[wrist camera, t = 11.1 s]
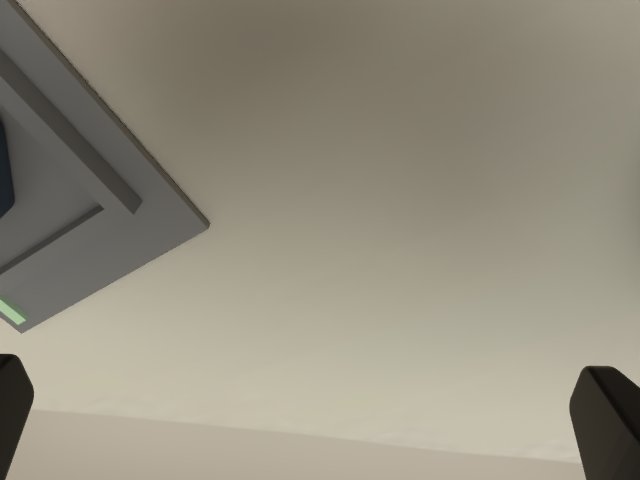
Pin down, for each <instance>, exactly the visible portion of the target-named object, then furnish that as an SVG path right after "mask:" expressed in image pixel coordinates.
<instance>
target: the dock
mask: <svg viewBox="0 0 640 480" xmlns="http://www.w3.org/2000/svg"><path fill="white" fill-rule="evenodd" d="M0 121H1V123H2V125H3V128H4V132H5V139H6V146H7V153H8V159H9V166H10V173H11V180H12V187H13V193H14V205H13V206H12V208H11V209H10V210H9V211H8V212H7V213H6V214H5V215H4V216H3V217H2V218H1V219H0V317H1V318H2V319H3V320H5V321H6V322H7V323H9V324H10V325H11V326H12V327H14V328H15V329H16V330H18V331H19V332H20V333H21V334H22V333H24V332H25V331H27V330H29V329H31V328H32V327H34V326H36V325H38V324H40V323H41V322H43V321H45V320H47V319H48V318H50V317H52V316H54V315H56V314H57V313H59V312H61V311H63V310H64V309H66V308H68V307H70V306H72V305H73V304H75V303H77V302H79V301H80V300H82V299H84V298H86V297H88V296H89V295H91V294H93V293H95V292H96V291H98V290H100V289H102V288H104V287H105V286H107V285H109V284H111V283H113V282H114V281H116V280H118V279H120V278H121V277H123V276H125V275H127V274H129V273H130V272H132V271H134V270H136V269H137V268H139V267H141V266H143V265H145V264H146V263H148V262H150V261H152V260H153V259H155V258H157V257H159V256H161V255H162V254H164V253H166V252H168V251H169V250H171V249H173V248H175V247H177V246H178V245H180V244H182V243H184V242H185V241H187V240H189V239H191V238H193V237H194V236H196V235H198V234H200V233H202V232H203V231H205V230H207V229H208V228H209V225H210V223H209V222H208V221H207V220H206V218H205V217H204V216H203V215H202V214H201V213H200V212H199V210H198V209H197V208H196V207H195V206H194V205H193V204H192V202H191V201H190V200H189V199H188V198H187V197H186V196H185V194H184V193H183V192H182V191H181V190H180V189H179V188H178V186H177V185H176V184H175V183H174V182H173V181H172V180H171V178H170V177H169V176H168V175H167V174H166V173H165V172H164V170H163V169H162V168H161V167H160V166H159V165H158V164H157V163H156V161H155V160H154V159H153V158H152V157H151V156H150V155H149V153H148V152H147V151H146V150H145V149H144V148H143V147H142V145H141V144H140V143H139V142H138V141H137V140H136V139H135V137H134V136H133V135H132V134H131V133H130V132H129V131H128V129H127V128H126V127H125V126H124V125H123V124H122V123H121V121H120V120H119V119H118V118H117V117H116V116H115V115H114V113H113V112H112V111H111V110H110V109H109V108H108V107H107V105H106V104H105V103H104V102H103V101H102V100H101V99H100V97H99V96H98V95H97V94H96V93H95V92H94V91H93V89H92V88H91V87H90V86H89V85H88V84H87V83H86V81H85V80H84V79H83V78H82V77H81V76H80V75H79V73H78V72H77V71H76V70H75V69H74V68H73V67H72V65H71V64H70V63H69V62H68V61H67V60H66V59H65V57H64V56H63V55H62V54H61V53H60V52H59V51H58V49H57V48H56V47H55V46H54V45H53V44H52V43H51V42H50V40H49V39H48V38H47V37H46V36H45V35H44V34H43V32H42V31H41V30H40V29H39V28H38V27H37V26H36V24H35V23H34V22H33V21H32V20H31V19H30V18H29V16H28V15H27V14H26V13H25V12H24V11H23V10H22V8H21V7H20V6H19V5H18V4H17V3H16V2H15V0H0Z"/></svg>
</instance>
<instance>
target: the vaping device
mask: <svg viewBox="0 0 640 480" xmlns="http://www.w3.org/2000/svg"><path fill="white" fill-rule="evenodd" d="M13 205H14V193H13V187H12V180H11V173H10V166H9V159H8V153H7V146H6V139H5V132H4V128H3V125H2V123H1V121H0V219H1V218H2V217H3V216H4V215H5V214H6V213H7V212H8V211H9V210H10V209H11V208H12V206H13Z"/></svg>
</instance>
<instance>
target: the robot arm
mask: <svg viewBox="0 0 640 480" xmlns="http://www.w3.org/2000/svg"><path fill="white" fill-rule="evenodd" d="M33 398H34V389H33V385H32V383H31V381H30V379H29V377H28V375H27V373H26V371H25V369H24V366H23V364H22V362H21V360H20V359H19V357H17V356H16V355H14V354H0V480H5V479H6V476H7V473H8V470H9V467H10V465H11V462H12V459H13V457H14V454H15V451H16V448H17V445H18V442H19V440H20V437H21V434H22V431H23V428H24V425H25V423H26V420H27V417H28V414H29V411H30V409H31V406H32V403H33ZM569 409H570V416H571V420H572V424H573V428H574V432H575V436H576V440H577V444H578V448H579V452H580V456H581V460H582V464H583V468H584V472H585V476H586V480H640V388H639V387H638V386H637V385H636V384H635V383H633V382H632V381H631V380H630V379H628V378H627V377H626V376H625V375H623V374H622V373H621V372H620V371H618V370H617V369H615V368H613V367H610V366H586V367H585V368H583V369H582V371H581V373H580V376H579V378H578V381H577V383H576V386H575V388H574V391H573V394H572V396H571V399H570V404H569Z"/></svg>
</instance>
